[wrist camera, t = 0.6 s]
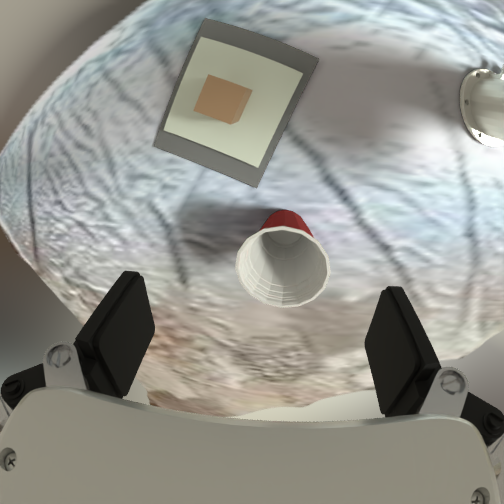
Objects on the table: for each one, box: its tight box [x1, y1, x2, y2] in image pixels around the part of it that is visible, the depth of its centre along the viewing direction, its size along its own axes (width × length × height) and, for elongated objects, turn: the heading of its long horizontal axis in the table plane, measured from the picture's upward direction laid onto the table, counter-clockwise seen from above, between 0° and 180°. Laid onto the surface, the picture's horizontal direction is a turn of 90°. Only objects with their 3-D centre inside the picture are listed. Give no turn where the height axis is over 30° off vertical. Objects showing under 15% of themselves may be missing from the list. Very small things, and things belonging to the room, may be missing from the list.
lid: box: [164, 37, 303, 168], centre depth 31 cm, size 14×14×7 cm
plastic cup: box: [235, 210, 331, 308], centre depth 37 cm, size 11×11×12 cm
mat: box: [154, 18, 319, 188], centre depth 34 cm, size 20×16×1 cm
